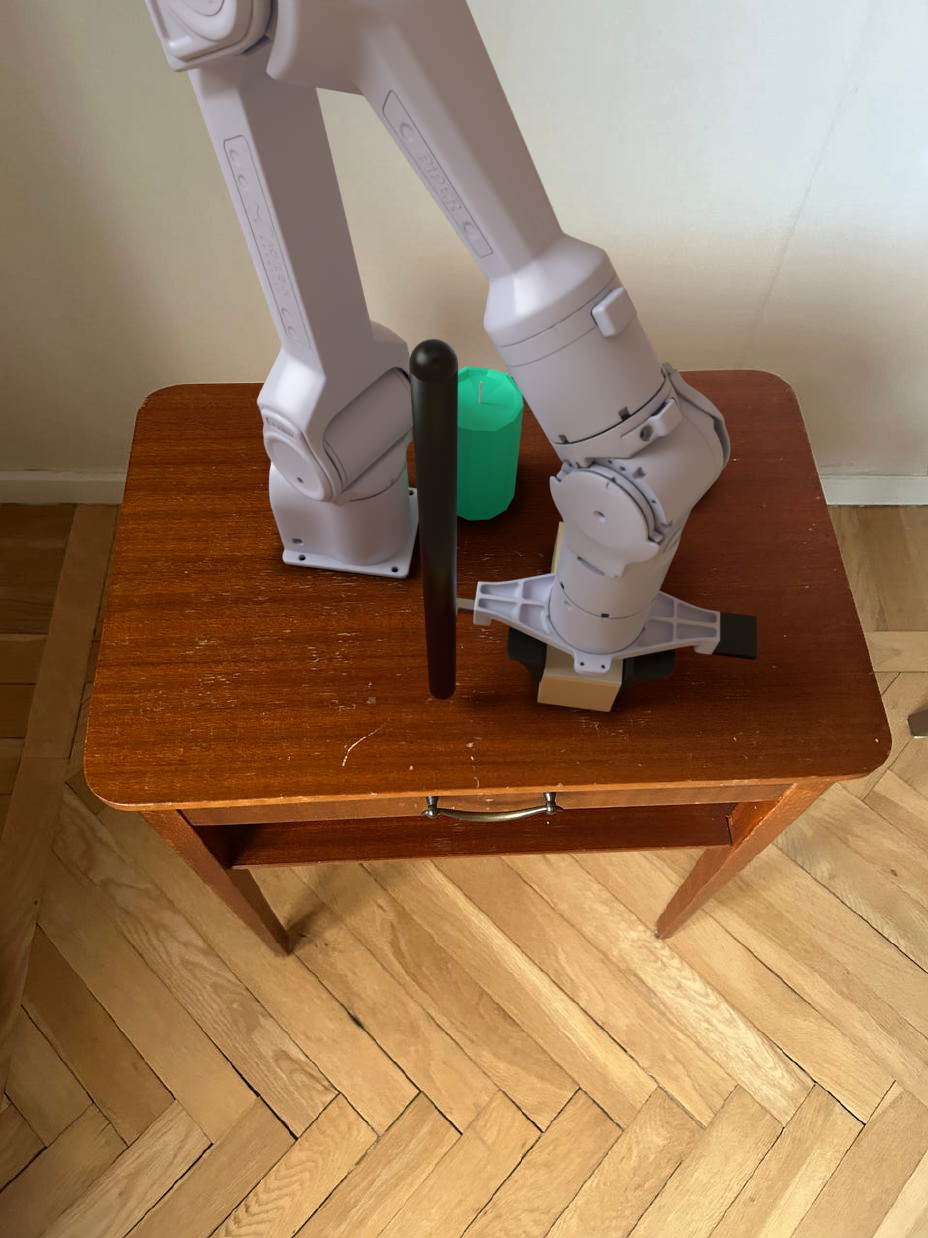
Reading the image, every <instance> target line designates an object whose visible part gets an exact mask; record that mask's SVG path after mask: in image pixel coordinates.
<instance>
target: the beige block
mask: <svg viewBox="0 0 928 1238" xmlns="http://www.w3.org/2000/svg"><path fill="white" fill-rule="evenodd" d="M622 673H623V659H618V660H614V661H612V662H611V668H610V671H609V674H608V675H606V676H605V677H596V676H588V675H581V674H579V673H577V672H576V671H575V670H574V658H573V656H572V655H570V654H568V653H566V652H564V651H562V650H560V649H557V648H555V647H553V646H551V645H549V644H547V652H546V662H545V665H544V666H543V675H542V680H541V682H538V693H537V703H538V704H545V705H555V706H561V707H562V706H563V707H570V708H577V709H584V710H591V711H592V710H593V711H600V712H606V713H609V712H611V709H612V707H613V705H614V702H615V700H616V698H617V695H618V693H619V692H618V691H619V689H620V686H621V684H622Z"/></svg>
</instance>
